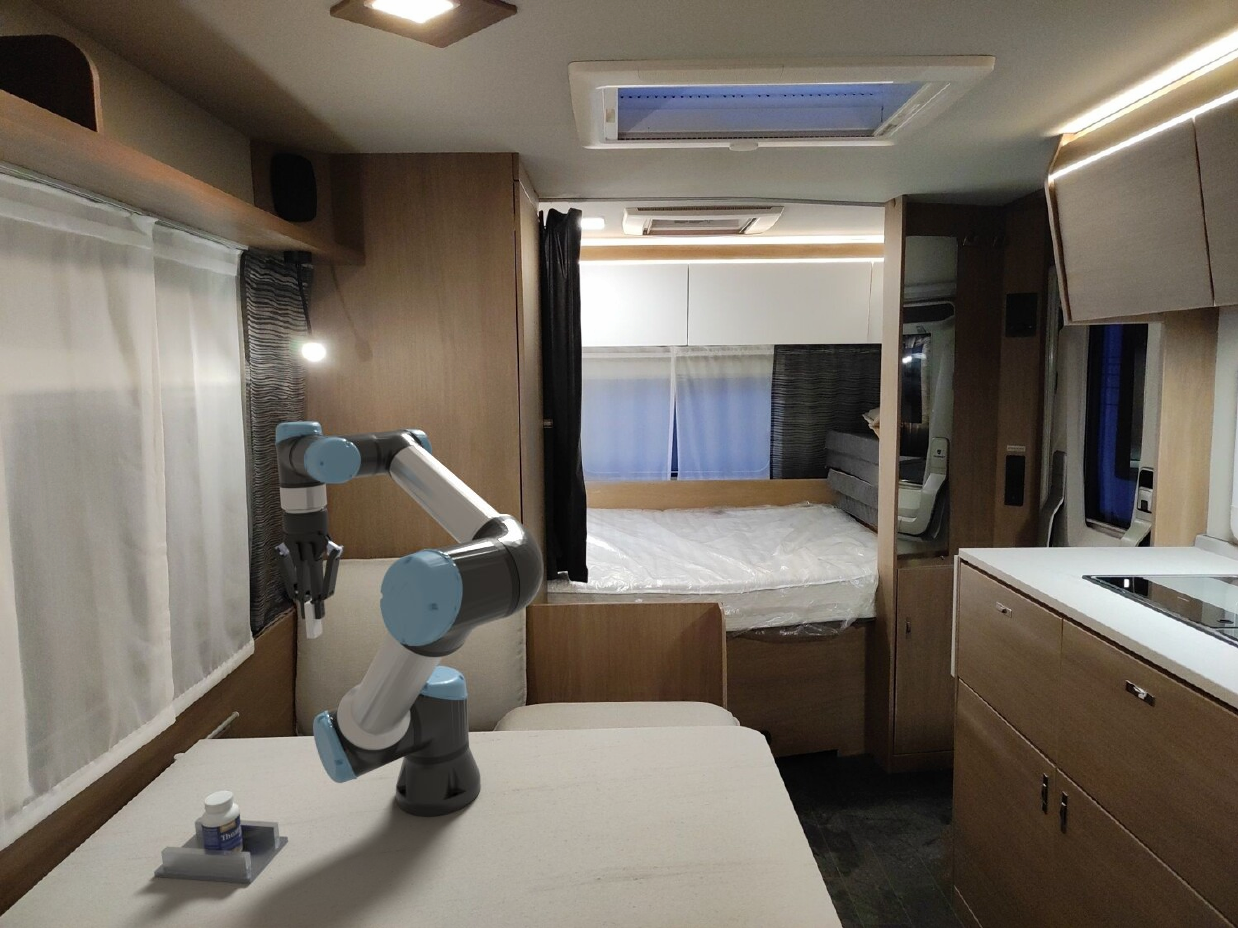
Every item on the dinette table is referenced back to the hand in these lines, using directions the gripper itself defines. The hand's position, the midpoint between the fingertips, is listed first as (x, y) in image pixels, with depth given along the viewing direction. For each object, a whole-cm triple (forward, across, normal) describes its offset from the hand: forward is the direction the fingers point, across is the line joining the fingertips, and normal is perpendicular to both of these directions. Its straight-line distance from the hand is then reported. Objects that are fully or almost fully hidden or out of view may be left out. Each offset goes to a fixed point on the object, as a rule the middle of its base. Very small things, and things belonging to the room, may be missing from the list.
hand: (314, 635), depth 132 cm
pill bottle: (+29, +6, +21) cm, 36 cm away
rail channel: (+29, +6, +21) cm, 37 cm away
